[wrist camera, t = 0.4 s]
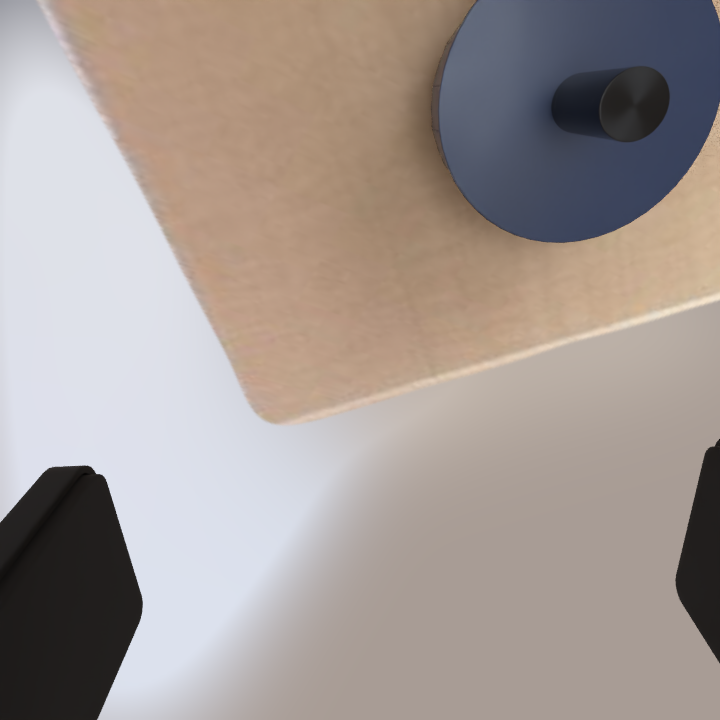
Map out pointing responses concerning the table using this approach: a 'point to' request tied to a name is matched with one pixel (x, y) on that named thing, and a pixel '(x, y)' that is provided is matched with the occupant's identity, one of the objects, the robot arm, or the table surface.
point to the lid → (577, 109)
